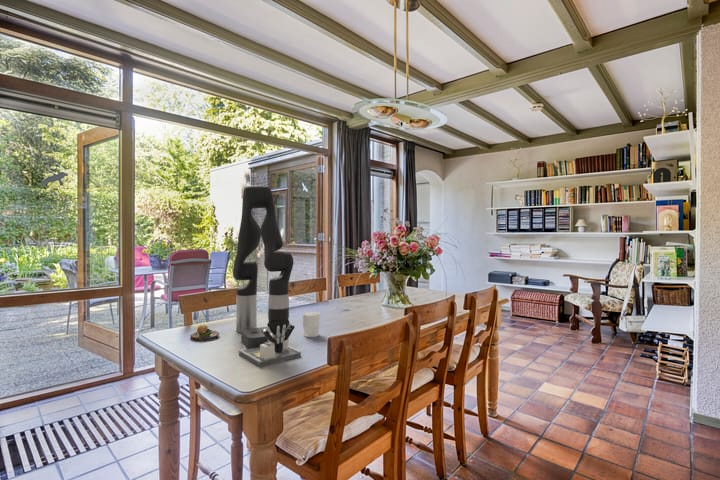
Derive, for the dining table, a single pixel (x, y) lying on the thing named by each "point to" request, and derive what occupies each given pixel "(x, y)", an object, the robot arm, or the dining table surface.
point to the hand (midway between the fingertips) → (278, 352)
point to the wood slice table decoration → (204, 334)
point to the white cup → (311, 324)
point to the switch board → (255, 358)
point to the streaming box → (253, 337)
